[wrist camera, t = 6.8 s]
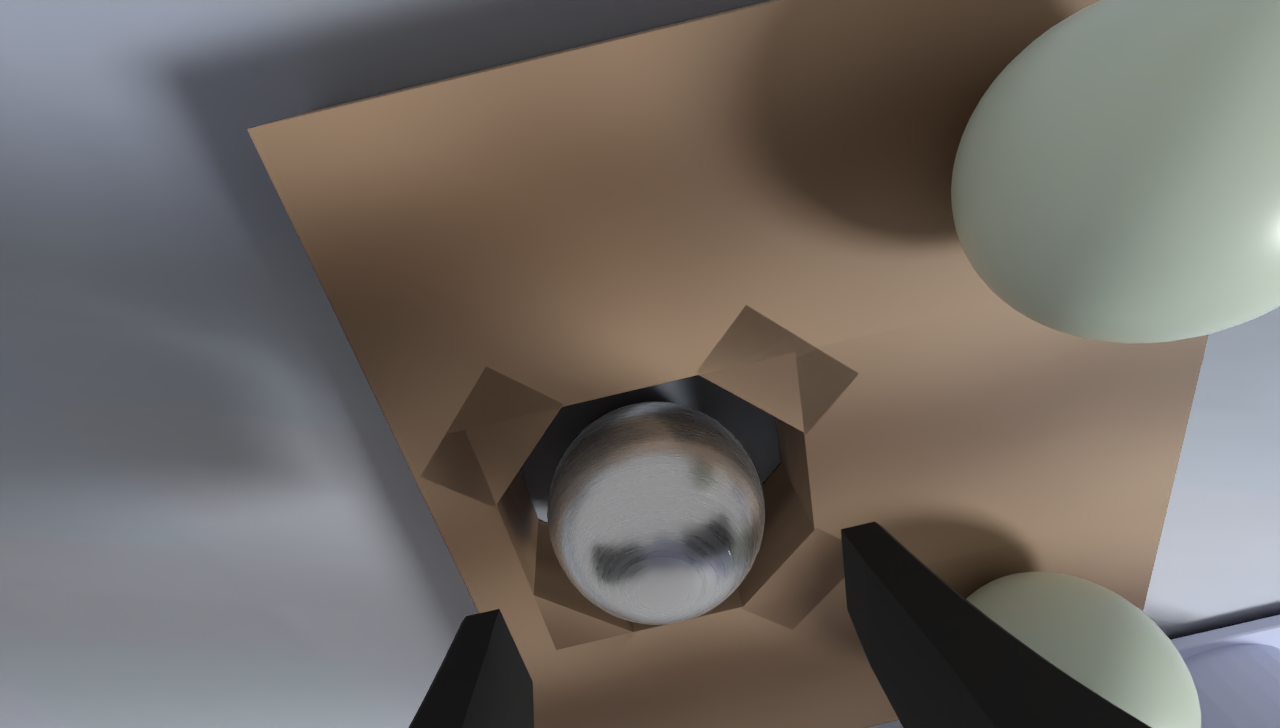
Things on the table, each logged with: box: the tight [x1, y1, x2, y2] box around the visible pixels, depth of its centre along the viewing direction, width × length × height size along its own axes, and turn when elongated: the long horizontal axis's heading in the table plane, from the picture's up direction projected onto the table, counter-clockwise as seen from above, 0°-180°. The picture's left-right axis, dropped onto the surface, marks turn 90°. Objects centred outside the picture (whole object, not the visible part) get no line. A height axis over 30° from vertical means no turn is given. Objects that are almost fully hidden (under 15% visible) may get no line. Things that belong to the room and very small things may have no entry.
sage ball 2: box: [966, 571, 1201, 728], centre depth 14 cm, size 5×5×5 cm
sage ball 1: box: [951, 0, 1280, 343], centre depth 9 cm, size 5×5×5 cm
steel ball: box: [547, 402, 765, 625], centre depth 14 cm, size 5×5×5 cm
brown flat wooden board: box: [247, 0, 1208, 728], centre depth 15 cm, size 18×16×2 cm
